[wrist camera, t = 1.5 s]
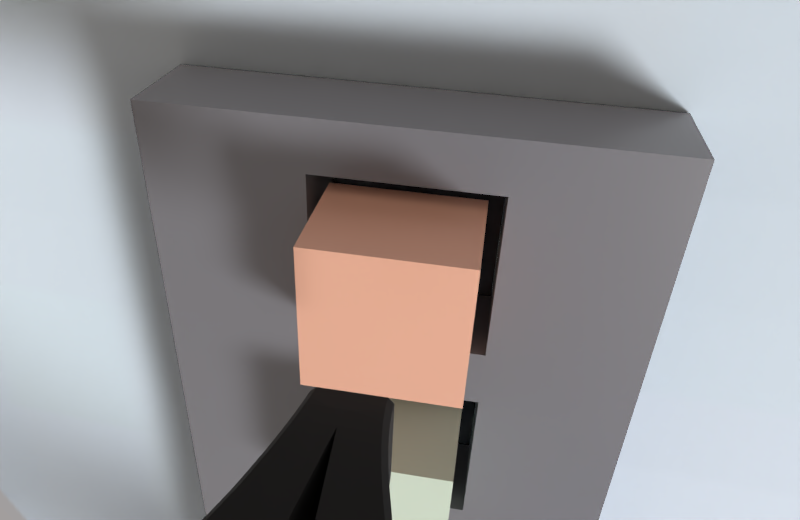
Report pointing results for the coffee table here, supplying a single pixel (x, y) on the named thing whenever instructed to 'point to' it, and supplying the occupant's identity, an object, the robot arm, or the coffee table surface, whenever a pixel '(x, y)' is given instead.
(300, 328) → the terracotta key
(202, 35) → the coffee table surface
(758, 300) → the coffee table surface
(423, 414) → the sage key
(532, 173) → the grey slotted board
